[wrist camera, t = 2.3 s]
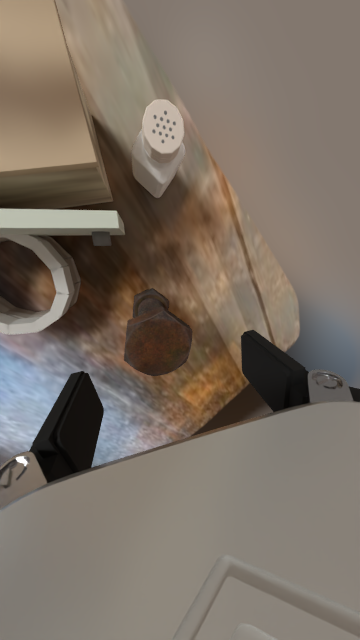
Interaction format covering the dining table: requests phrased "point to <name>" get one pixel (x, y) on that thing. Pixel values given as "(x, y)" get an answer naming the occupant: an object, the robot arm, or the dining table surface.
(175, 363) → the bolt
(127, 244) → the dining table surface
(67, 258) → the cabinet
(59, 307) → the grey piece
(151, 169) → the pepper shaker
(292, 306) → the dining table surface
